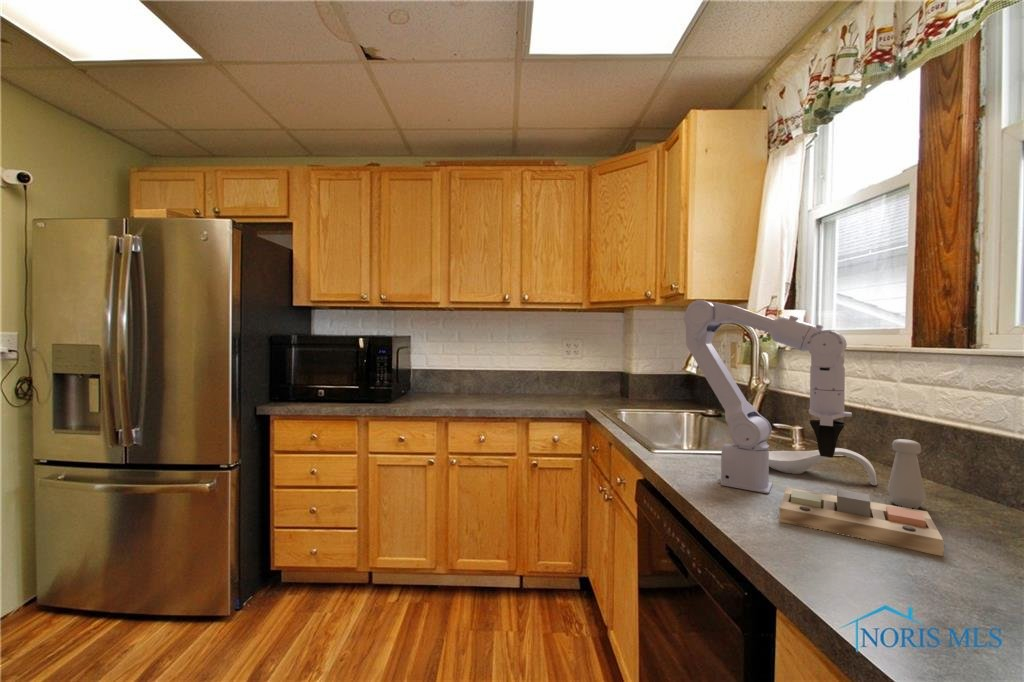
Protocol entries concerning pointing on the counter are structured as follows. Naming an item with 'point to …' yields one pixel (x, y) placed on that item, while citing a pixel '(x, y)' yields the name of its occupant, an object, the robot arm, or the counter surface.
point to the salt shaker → (906, 475)
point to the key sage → (806, 499)
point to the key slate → (853, 503)
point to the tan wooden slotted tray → (862, 523)
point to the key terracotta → (905, 516)
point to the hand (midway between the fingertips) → (826, 456)
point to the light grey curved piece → (812, 461)
